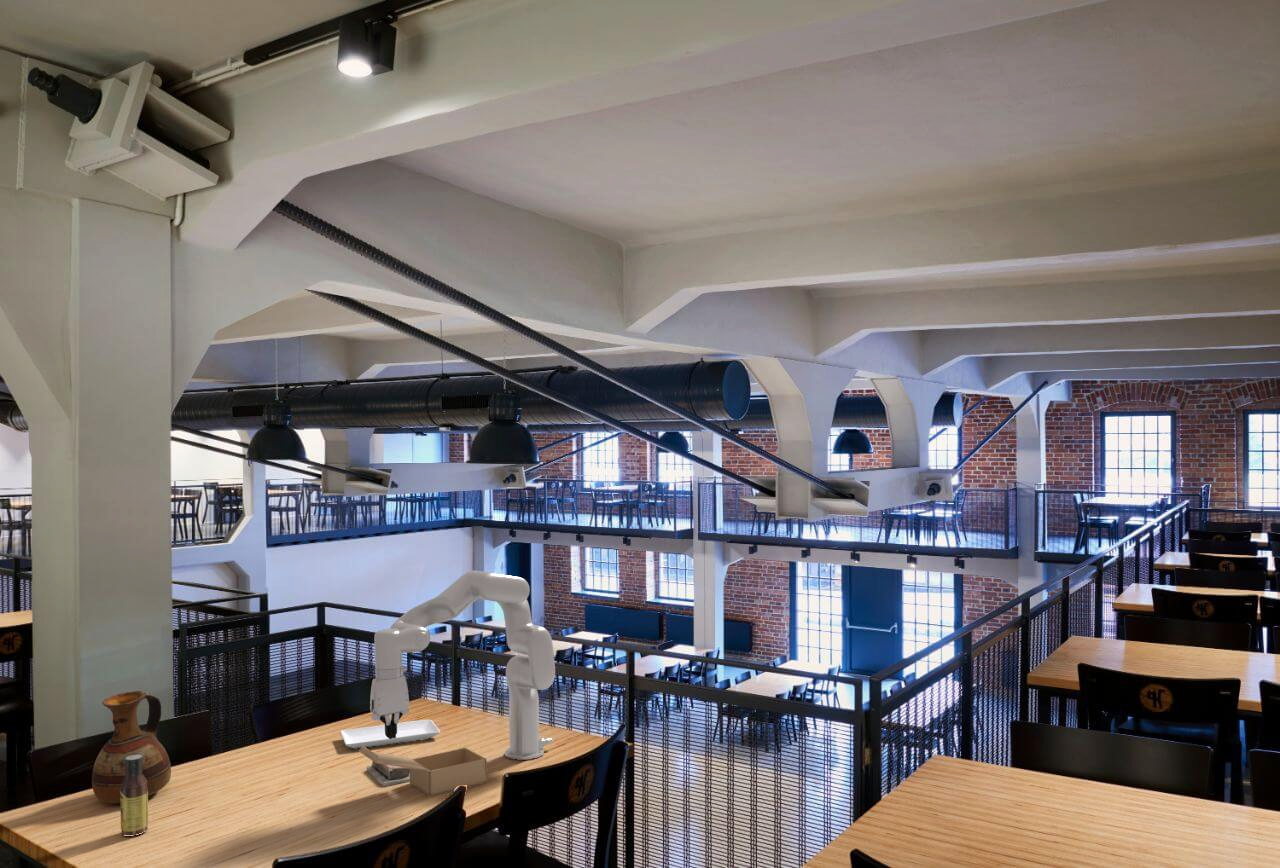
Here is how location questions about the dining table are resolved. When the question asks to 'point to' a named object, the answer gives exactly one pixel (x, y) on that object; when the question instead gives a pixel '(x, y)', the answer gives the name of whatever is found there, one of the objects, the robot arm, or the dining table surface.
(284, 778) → the dining table surface
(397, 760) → the lid
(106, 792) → the ceramic pitcher
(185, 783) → the dining table surface
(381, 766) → the packaged product
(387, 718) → the robot arm
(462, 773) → the mailer box
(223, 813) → the dining table surface
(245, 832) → the dining table surface
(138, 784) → the sauce bottle
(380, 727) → the tray
